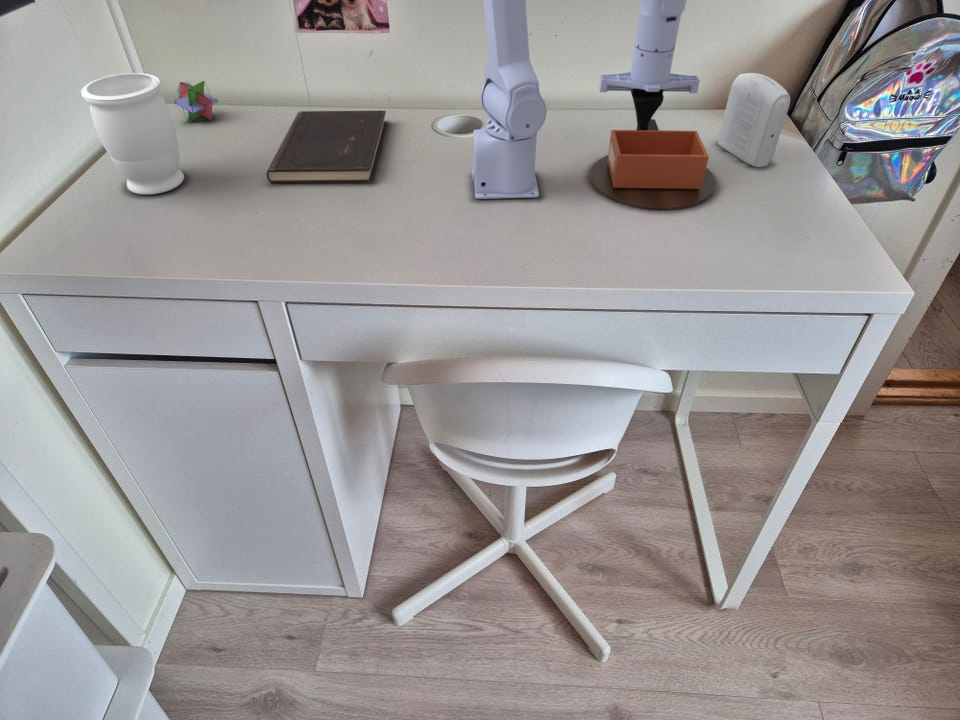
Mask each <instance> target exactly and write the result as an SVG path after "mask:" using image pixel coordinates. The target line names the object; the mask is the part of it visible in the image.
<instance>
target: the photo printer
mask: <svg viewBox="0 0 960 720" xmlns="http://www.w3.org/2000/svg"><path fill="white" fill-rule="evenodd" d="M790 105H791V96H790V94H789V92H788V91H787V90H786V89H785V87H783V86H782V85H781V84H780V83H778V82H777V81H776V80H774V79H773V78H771V77H770V76H767V75H764V74H761V73H758V72H757V73H756V72H746V73H740V74H739V75H738V76H737V77H736V78H735V79H734V81H733V82H732V84H731V88H730V91H729V94H728V99H727V102H726V107H725V110H724V115H723V118H722V122H721V126H720V129H719V133H718V138H717V145H718V146H720V147H721V148H723V149H724V150H726V151H727V152H729V153H730V154H732V155H734V157H737V158H738V159H739V160H741V161H742V162H745V163H746V164H748V165H750V166H753V167H754V168H764V167H767V166H768V165H769V164H770V163H771V162H772V160H773V157H774V156H775V155H774V154H775V152H776V149H777V146H778V142H779V139H780V137H781V133H782V129H783V126H784V123H785V121H786V119H787V118H786V117H787V115H788V111H789V108H790Z"/></svg>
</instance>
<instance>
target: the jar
mask: <svg viewBox="0 0 960 720" xmlns="http://www.w3.org/2000/svg"><path fill="white" fill-rule="evenodd" d="M161 89H162V84H161V82H160V79H159V78H158V77H157V76H156V75H153V74H149V73H144V72H143V73H142V72H126V73H118V74H117V73H116V74H112V75H106V76H104V77H100V78H97V79H94V80H92V81H90V82H87V83H86V84H85V85H83V87H82V88H81V89H80V94H81V97H82V99H83V100H84V101H85V102H86V103H88V104H89V108H90V115H91V119H92V122H93V123H92V124H93V126H94V128H95V132H96V134H97V136H98V139H99V141H100V142H101V144H102V146H103V147H104V149H105V151H106V152H107V154H108V155H109V157H110V159H111V161H112V163H113V164H114V166H115V167H116V168H117V170H118V171H119V173H121V175H122V176H124V178H126V187H127V189H128V190H129V191H130V192H131V193H133V194H136V195H145V196H146V195H149V196H150V195H159V194H161V193H162V194H163V193H166V192H169V191H172V190H174V189H176V188H177V187H178V186H180V185H181V184H182V183H183V182H184V180H185V175H184V172H183V171H182V170H181V169H180V168H179V166H180V150H179V149H180V148H179V145H178V136H177V130H176V127H175V123H174V120H173V116H172V114H171V111H170V109H169V107H168V104H167V103H166V101H165V99H164V97H163V96H162V94H161V93H160V91H161Z"/></svg>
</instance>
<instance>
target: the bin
mask: <svg viewBox="0 0 960 720" xmlns="http://www.w3.org/2000/svg"><path fill="white" fill-rule="evenodd" d="M607 155H608V160H607V161H608V165H609V170H610V175H611V179H612V184H613V188H668V189H701V188H702V184H703V179H704V175H705V171H706V168H707V166H708V163H709V158H710V157H709V154H708V151H707V150H706V147H705V146H704V143H703V141H702V139H701V137H700V134H699V132H698V131H697V130H665V129H664V130H661V129H659V126H658V124H657V120H656V119H655V118H651V120H650V122H649V123H648V125H647V128H646V130H636V129H611V130H610V139H609V146H608V153H607Z"/></svg>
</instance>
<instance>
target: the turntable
mask: <svg viewBox="0 0 960 720" xmlns="http://www.w3.org/2000/svg"><path fill="white" fill-rule="evenodd" d="M607 160H608V154H607V155H605V156H603V157H601V158H599V159H598V160H597V161H595V162H594V164H593V165H592V166H591V169H590V173H589V180H590V183H591V185H592V186H593V188H594V189H595V190H596V191H597V192H598V193H600V194H601V195H602V196H604V197H605V198H607V199H609V200H611V201H613V202H615V203H617V204H620V205H623V206H627V207H630V208H635V209H640V210H648V211H661V212H663V211H665V212H666V211H677V210H679V211H680V210H685V209H689V208H690V209H691V208H693V207H696V206H699V205H701V204H704V203H705V202H707V201H708V200H709V199H710V198H711V197H712V196H713V195H714V193H715V191H716V186H717V181H716V178H715V175H714V174H713V173H712V172H711V170H710V169H708V168H707V167H706V171H705V175H704V179H703V184H702V188H701V189H668V188H613V184H612V179H611V175H610V170H609V165H608V161H607Z"/></svg>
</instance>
